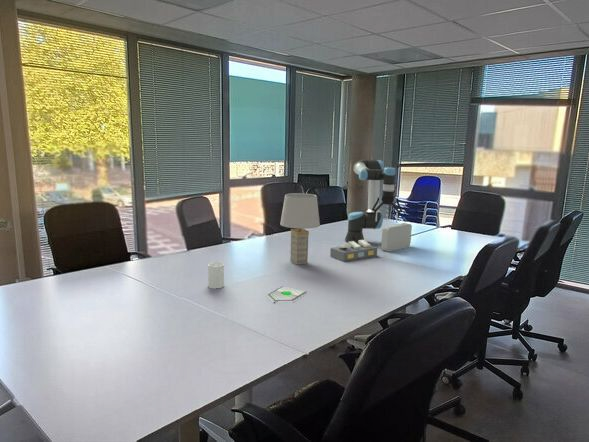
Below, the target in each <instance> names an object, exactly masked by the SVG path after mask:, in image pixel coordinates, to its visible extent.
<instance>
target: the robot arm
mask: <svg viewBox="0 0 589 442" xmlns="http://www.w3.org/2000/svg"><path fill="white" fill-rule="evenodd" d="M352 170H353V172H354V173H355V174H356V175H358V179H359V180H361V181H368V196H367V197H368V199H367V210H366V211H365V213H364V212H363V211H352V212H350V213H348V217H347V218H348V219H347V220H348V221H347V232H346V236H345V238H344V242H346V243H348V242H350V241H354V242H356V243H357V244H359V243H358V240H364V241H365V238H364V233H363V229H364V230H365V229H366V230H369V229H370V230H379V229H381V228H382V225H383V221H384V216H383V214H382V213H381V211H380V208H381V207H382V206H384V205H391V206H392V207H393V208H394V210H395V211H396V214H395V223H397V224H398V218H400V213H403V209H402V206H401V205H400V202H399V198H398V197H395V198H394V196H395V183H396V175H397V174H396V168H395V167H385V164H384V161H382V160H379V159H360V160H358V161H355V163H353V167H352ZM380 181H382V182H383V183H382V194H381V195H382V197H380V192H381V191H380V190H381V189H380V183H381V182H380ZM380 201H381V203H380ZM394 201H395V202H396V204H397V206H396V205H395V203H394Z"/></svg>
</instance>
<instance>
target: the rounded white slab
mask: <svg viewBox="0 0 589 442" xmlns="http://www.w3.org/2000/svg"><path fill="white" fill-rule="evenodd" d="M411 241H412V224H411V223H406V222H403V223H397V224H391V225H385V226H383V227H382V232H381V242H380V243H381V244H380V245H381V246H380V248H381V250H382V251H385V252H388V253H389V252H393V251H397V250H398V251H399V250H402V248H403V249H406V248H409V247H410V246H411V243H412V242H411Z"/></svg>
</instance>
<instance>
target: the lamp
mask: <svg viewBox="0 0 589 442" xmlns="http://www.w3.org/2000/svg"><path fill="white" fill-rule="evenodd" d="M320 222H321V221H320V213H319V205H318V197H317V195H316V194H312V193H300V192H299V193H297V192H296V193H295V192H294V193H286V194H285V195H284V200H283V207H282V211H281V217H280V224H279V225H280V226H282V227H284V228H290V256H289V257H290V258H289V259H290V260H289V261H290V262H291V263H293V264H295V265H305V264H308V260H309V259H308V258H309V235H310V234H309V233H310V231H309V230H307V229H315V228H318V227H320V226H321V225H320V224H321V223H320Z"/></svg>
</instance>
